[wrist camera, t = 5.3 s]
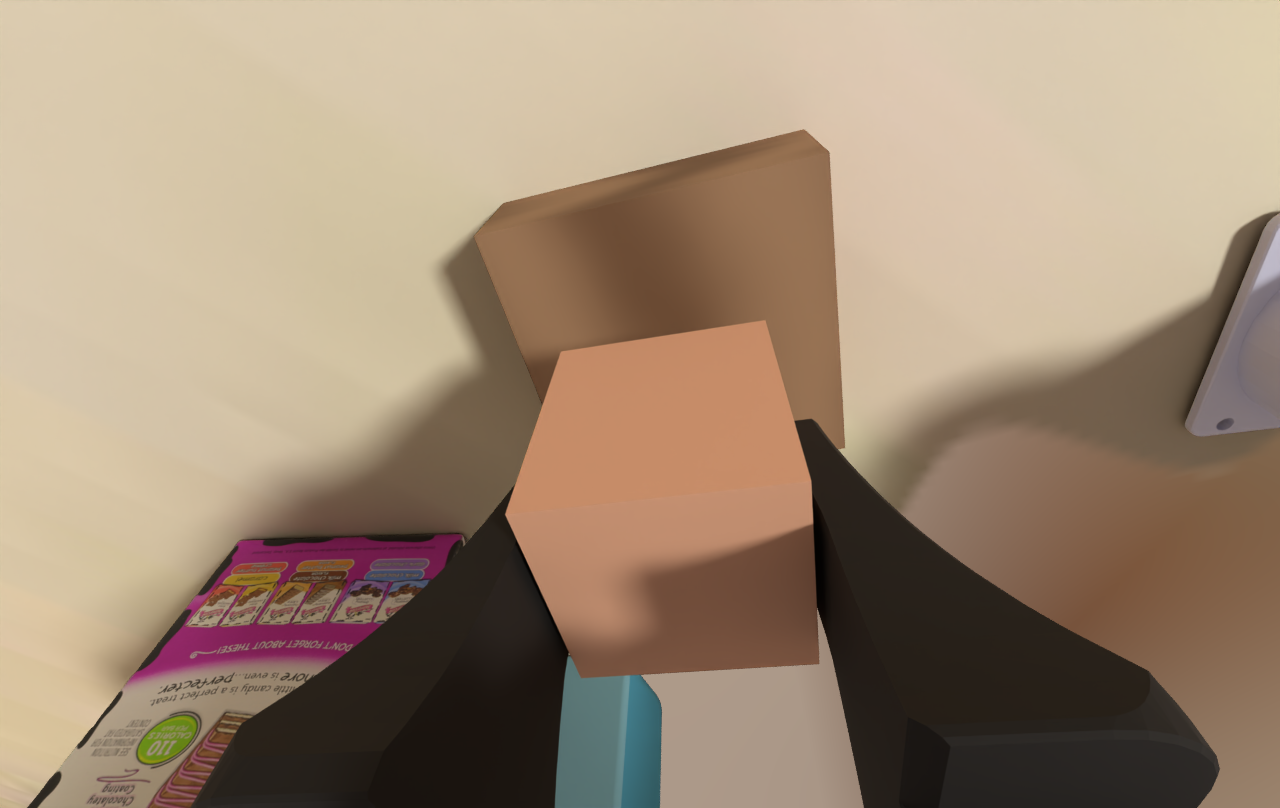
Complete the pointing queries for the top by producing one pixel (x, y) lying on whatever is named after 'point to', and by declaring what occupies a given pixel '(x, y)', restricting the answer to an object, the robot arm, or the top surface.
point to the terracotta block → (671, 507)
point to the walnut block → (682, 263)
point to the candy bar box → (240, 660)
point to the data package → (608, 743)
